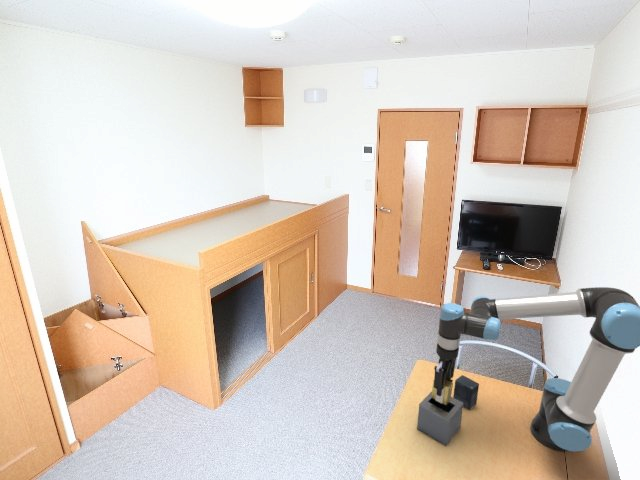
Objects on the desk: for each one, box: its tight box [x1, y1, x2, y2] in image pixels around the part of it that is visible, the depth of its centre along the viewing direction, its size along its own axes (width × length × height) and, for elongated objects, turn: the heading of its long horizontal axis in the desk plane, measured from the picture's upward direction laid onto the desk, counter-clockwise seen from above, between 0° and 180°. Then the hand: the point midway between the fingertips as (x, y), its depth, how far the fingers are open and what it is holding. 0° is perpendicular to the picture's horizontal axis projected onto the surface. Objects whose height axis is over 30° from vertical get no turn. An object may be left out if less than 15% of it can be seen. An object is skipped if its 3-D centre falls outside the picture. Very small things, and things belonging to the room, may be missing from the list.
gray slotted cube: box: [416, 391, 464, 447], centre depth 148 cm, size 12×12×12 cm
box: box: [452, 374, 480, 411], centre depth 162 cm, size 8×6×11 cm
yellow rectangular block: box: [431, 379, 454, 405], centre depth 145 cm, size 6×4×8 cm, turn 46°
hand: (441, 398), depth 146 cm, fingers closed on yellow rectangular block, 3 cm apart
